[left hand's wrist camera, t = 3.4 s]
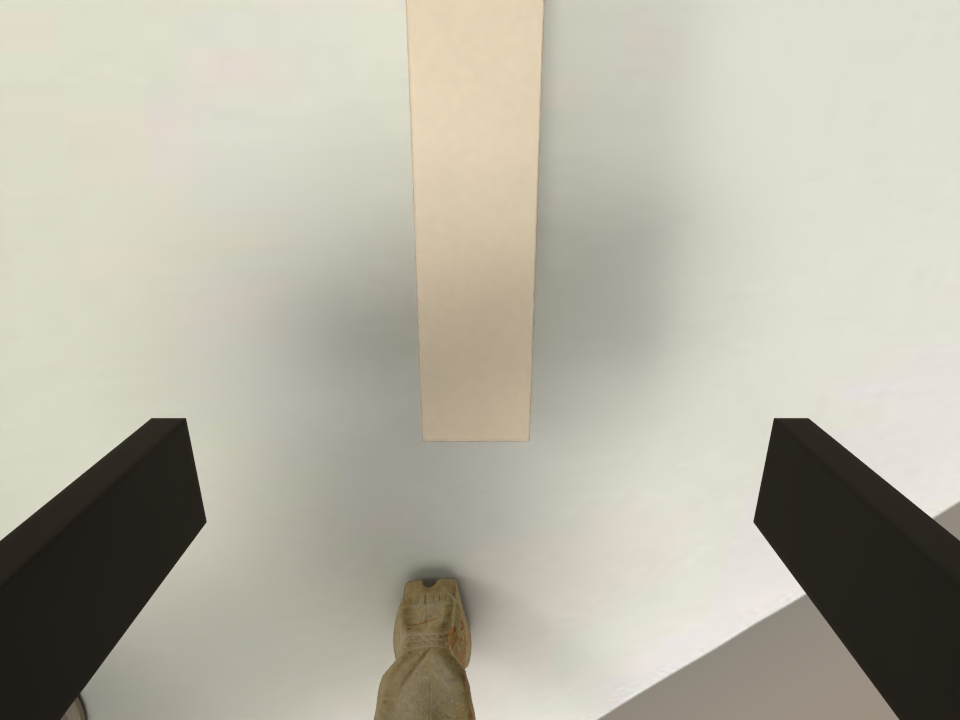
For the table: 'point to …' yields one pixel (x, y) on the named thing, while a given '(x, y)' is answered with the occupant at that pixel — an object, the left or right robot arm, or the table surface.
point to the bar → (475, 210)
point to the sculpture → (428, 657)
